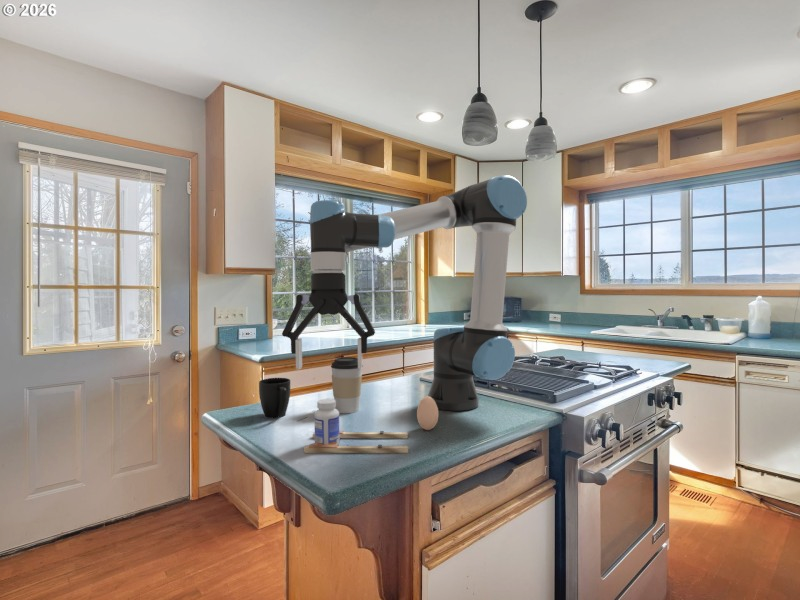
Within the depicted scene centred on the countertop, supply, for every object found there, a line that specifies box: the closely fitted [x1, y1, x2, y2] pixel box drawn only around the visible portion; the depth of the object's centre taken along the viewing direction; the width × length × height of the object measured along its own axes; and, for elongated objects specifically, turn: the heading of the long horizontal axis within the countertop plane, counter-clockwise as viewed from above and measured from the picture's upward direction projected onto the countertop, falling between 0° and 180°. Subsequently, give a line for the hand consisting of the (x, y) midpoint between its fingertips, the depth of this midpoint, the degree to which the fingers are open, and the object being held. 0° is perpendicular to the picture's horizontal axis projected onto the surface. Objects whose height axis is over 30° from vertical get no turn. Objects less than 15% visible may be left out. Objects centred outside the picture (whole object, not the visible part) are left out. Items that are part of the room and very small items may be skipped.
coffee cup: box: [330, 356, 364, 414], centre depth 122 cm, size 9×9×15 cm
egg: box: [416, 395, 439, 431], centre depth 105 cm, size 5×5×8 cm
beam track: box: [303, 430, 409, 454], centre depth 95 cm, size 22×10×1 cm, turn 90°
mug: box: [258, 377, 291, 419], centre depth 115 cm, size 8×12×10 cm
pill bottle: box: [313, 398, 340, 446], centre depth 95 cm, size 5×5×10 cm
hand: (329, 368), depth 95 cm, fingers open, 13 cm apart
